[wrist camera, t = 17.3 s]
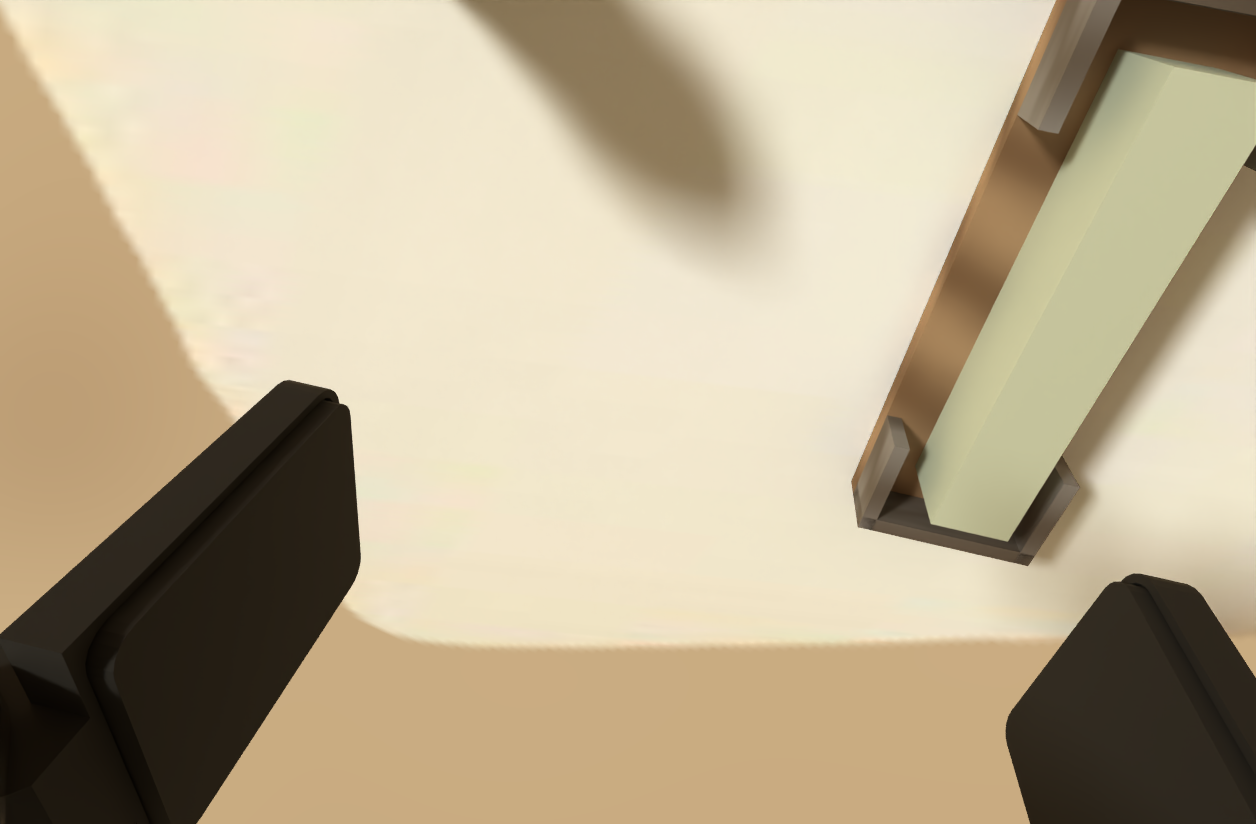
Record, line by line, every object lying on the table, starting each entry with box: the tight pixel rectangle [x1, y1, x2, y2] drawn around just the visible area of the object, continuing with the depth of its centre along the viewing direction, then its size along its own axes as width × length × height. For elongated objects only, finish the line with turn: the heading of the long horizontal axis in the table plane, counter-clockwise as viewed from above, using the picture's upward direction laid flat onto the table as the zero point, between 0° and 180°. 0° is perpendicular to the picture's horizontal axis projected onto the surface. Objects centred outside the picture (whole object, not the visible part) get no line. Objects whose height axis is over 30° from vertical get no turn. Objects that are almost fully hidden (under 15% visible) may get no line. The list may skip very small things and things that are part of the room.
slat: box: [915, 49, 1256, 542], centre depth 34 cm, size 22×4×5 cm, turn 171°
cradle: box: [851, 0, 1256, 566], centre depth 35 cm, size 28×10×4 cm, turn 171°
